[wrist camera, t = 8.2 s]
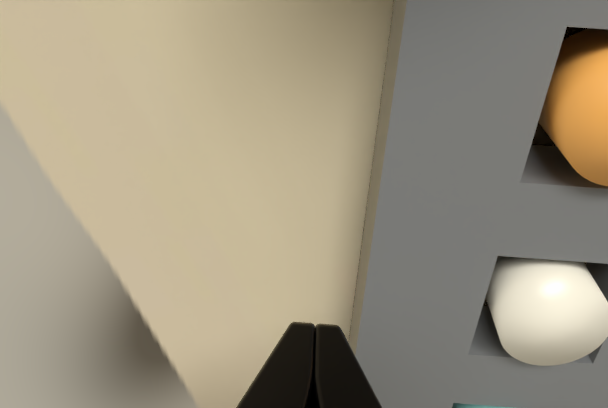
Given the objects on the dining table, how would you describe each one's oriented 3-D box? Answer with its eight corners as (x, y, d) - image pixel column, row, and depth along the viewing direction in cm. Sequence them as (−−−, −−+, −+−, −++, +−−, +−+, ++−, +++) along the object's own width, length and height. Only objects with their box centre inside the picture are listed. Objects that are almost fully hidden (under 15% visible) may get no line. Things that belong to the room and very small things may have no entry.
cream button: (591, 233, 22) (630, 290, 19) (561, 308, 24) (592, 369, 21) (491, 226, 22) (514, 281, 19) (469, 301, 24) (487, 361, 21)
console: (858, -28, 17) (951, -8, 14) (596, 448, 30) (620, 503, 27) (401, -58, 17) (413, -43, 15) (337, 428, 30) (337, 481, 27)
